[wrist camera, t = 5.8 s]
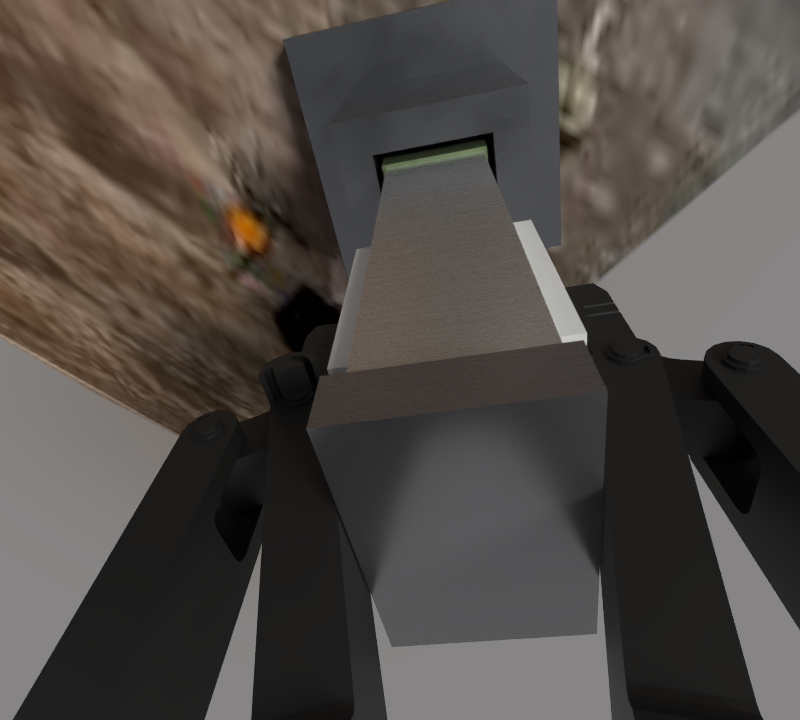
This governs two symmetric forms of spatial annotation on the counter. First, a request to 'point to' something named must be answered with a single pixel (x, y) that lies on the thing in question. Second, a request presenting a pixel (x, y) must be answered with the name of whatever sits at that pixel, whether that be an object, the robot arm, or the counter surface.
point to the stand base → (434, 103)
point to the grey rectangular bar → (463, 421)
